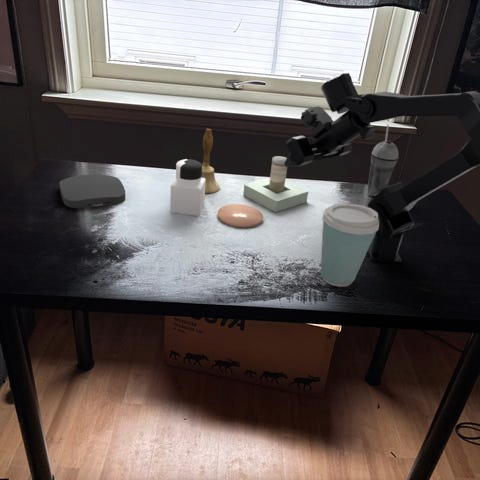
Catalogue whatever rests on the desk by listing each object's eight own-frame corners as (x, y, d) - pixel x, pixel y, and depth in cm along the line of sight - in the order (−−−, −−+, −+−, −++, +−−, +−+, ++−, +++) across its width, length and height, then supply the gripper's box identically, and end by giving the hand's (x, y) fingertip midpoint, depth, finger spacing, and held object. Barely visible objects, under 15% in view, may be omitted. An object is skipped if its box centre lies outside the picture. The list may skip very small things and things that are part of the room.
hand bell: (190, 180, 131) (193, 123, 123) (220, 182, 131) (225, 126, 124) (187, 192, 124) (190, 132, 116) (219, 195, 124) (223, 135, 116)
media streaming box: (58, 186, 120) (57, 175, 119) (116, 182, 126) (115, 171, 125) (65, 211, 109) (64, 199, 107) (129, 205, 115) (128, 193, 113)
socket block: (306, 201, 125) (308, 191, 124) (275, 212, 118) (276, 201, 117) (274, 186, 133) (276, 176, 131) (243, 194, 126) (244, 184, 124)
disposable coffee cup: (302, 281, 92) (315, 212, 85) (320, 257, 101) (334, 193, 93) (355, 300, 88) (373, 229, 81) (369, 274, 97) (387, 208, 89)
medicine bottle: (204, 204, 118) (207, 158, 112) (199, 216, 112) (201, 169, 106) (176, 200, 119) (177, 155, 113) (169, 212, 112) (170, 165, 107)
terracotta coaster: (263, 229, 109) (263, 226, 109) (216, 225, 109) (216, 222, 109) (262, 209, 119) (262, 206, 118) (218, 205, 119) (219, 202, 118)
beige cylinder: (283, 202, 124) (289, 162, 118) (267, 200, 124) (272, 161, 118) (282, 195, 127) (287, 157, 122) (267, 194, 127) (272, 155, 122)
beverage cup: (390, 201, 131) (410, 130, 121) (364, 199, 131) (382, 128, 121) (384, 191, 137) (402, 123, 128) (359, 188, 137) (375, 120, 127)
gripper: (352, 94, 110) (309, 128, 122) (299, 101, 99) (257, 137, 111) (373, 137, 109) (327, 166, 121) (321, 149, 98) (276, 180, 110)
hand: (298, 161), depth 116 cm, fingers open, 9 cm apart
